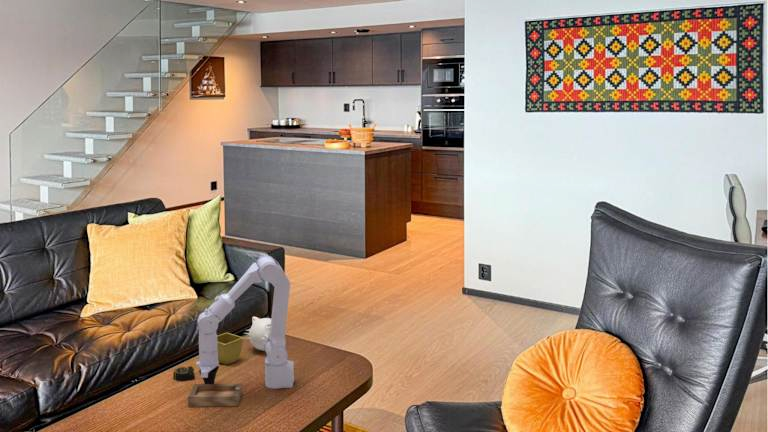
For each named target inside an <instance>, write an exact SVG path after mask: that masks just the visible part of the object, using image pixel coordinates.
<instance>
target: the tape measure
mask: <svg viewBox="0 0 768 432" xmlns="http://www.w3.org/2000/svg"><path fill="white" fill-rule="evenodd" d="M172 377H173V380H175V381H177V382H186V381H187V382H188V381H192V380H195V378H196V377H195V368H193V366H180V367H178V368H175V369H174V370H173V376H172Z"/></svg>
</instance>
